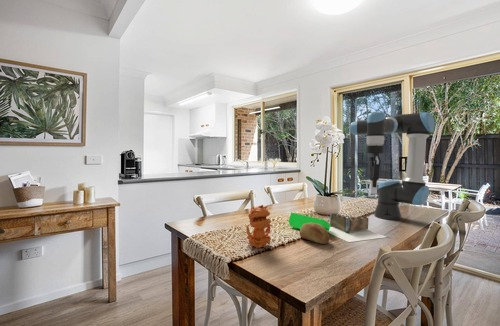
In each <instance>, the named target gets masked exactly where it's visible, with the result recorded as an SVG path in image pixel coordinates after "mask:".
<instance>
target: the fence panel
mask: <svg viewBox="0 0 500 326" xmlns="http://www.w3.org/2000/svg"><path fill="white" fill-rule="evenodd" d="M360 230H369V217H367V215H363V216H362V217H361V216H357V217H354V216H351V217H350V232H354V231H360Z"/></svg>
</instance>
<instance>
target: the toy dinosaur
mask: <svg viewBox="0 0 500 326" xmlns="http://www.w3.org/2000/svg"><path fill="white" fill-rule="evenodd" d="M270 215H271V212H270V211H269V209H268V205H266V206H264V205H263V204H261V205H259V206H254V205H253V207H252V208H251V209H250V211H249V213H248V215H247V217H248V219H249V220H248V222H249V225H250V226H251V228H253V231H252V233H251V231H250V228H249V225H246V227H245V228H246V234H247V236H246V239H248V245H249V246H251V247H252V246H254V247H259V248H258V249H261V248H260V247H264V248H266V247H267V245H270V244H271V241H272V240H271V239H272V238H271V235H270V233H271V222H272V221H271V220H270V219H269V218H267V217H269V216H270ZM254 247H253V248H254Z"/></svg>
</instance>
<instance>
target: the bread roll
mask: <svg viewBox="0 0 500 326" xmlns="http://www.w3.org/2000/svg"><path fill="white" fill-rule="evenodd" d="M298 234H299V237H300V238H302V239H305V240H308V241H312V242H315V243H318V244H322V245H323V244H324V245H326V244H328V243H329V242H330V233H328V232H327V230H326V229H325V228H324V227H323V226H321V225H320V224H317V223H306V224H303V225H302V227H301V229H299V233H298Z"/></svg>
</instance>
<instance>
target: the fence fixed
mask: <svg viewBox="0 0 500 326" xmlns="http://www.w3.org/2000/svg"><path fill="white" fill-rule="evenodd" d="M329 217H330V218H329V224H331V226H334V227H336V228H338V229H341V230H343V231H345V229H346V217H347V216H345V215H343V216H342V215H341V214H337V213H336V212H335V213H333V212H330V215H329Z"/></svg>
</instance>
